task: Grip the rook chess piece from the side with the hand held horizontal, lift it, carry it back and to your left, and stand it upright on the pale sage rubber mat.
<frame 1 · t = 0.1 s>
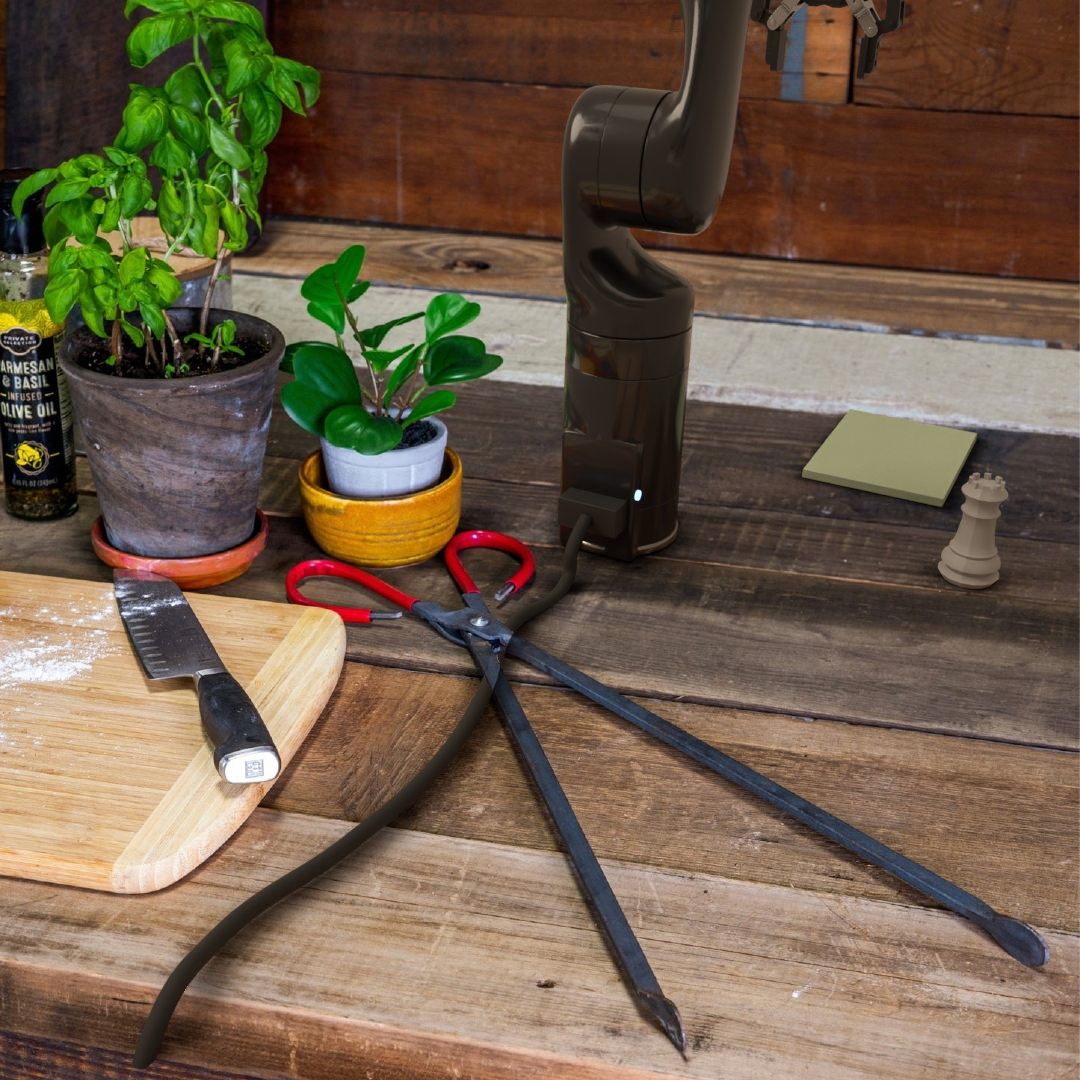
hand: (819, 74, 122), 29 cm above the table, tool pointing down, fingers open, 8 cm apart
rook chess piece: (966, 578, 94), on the table
mat: (891, 458, 113), on the table
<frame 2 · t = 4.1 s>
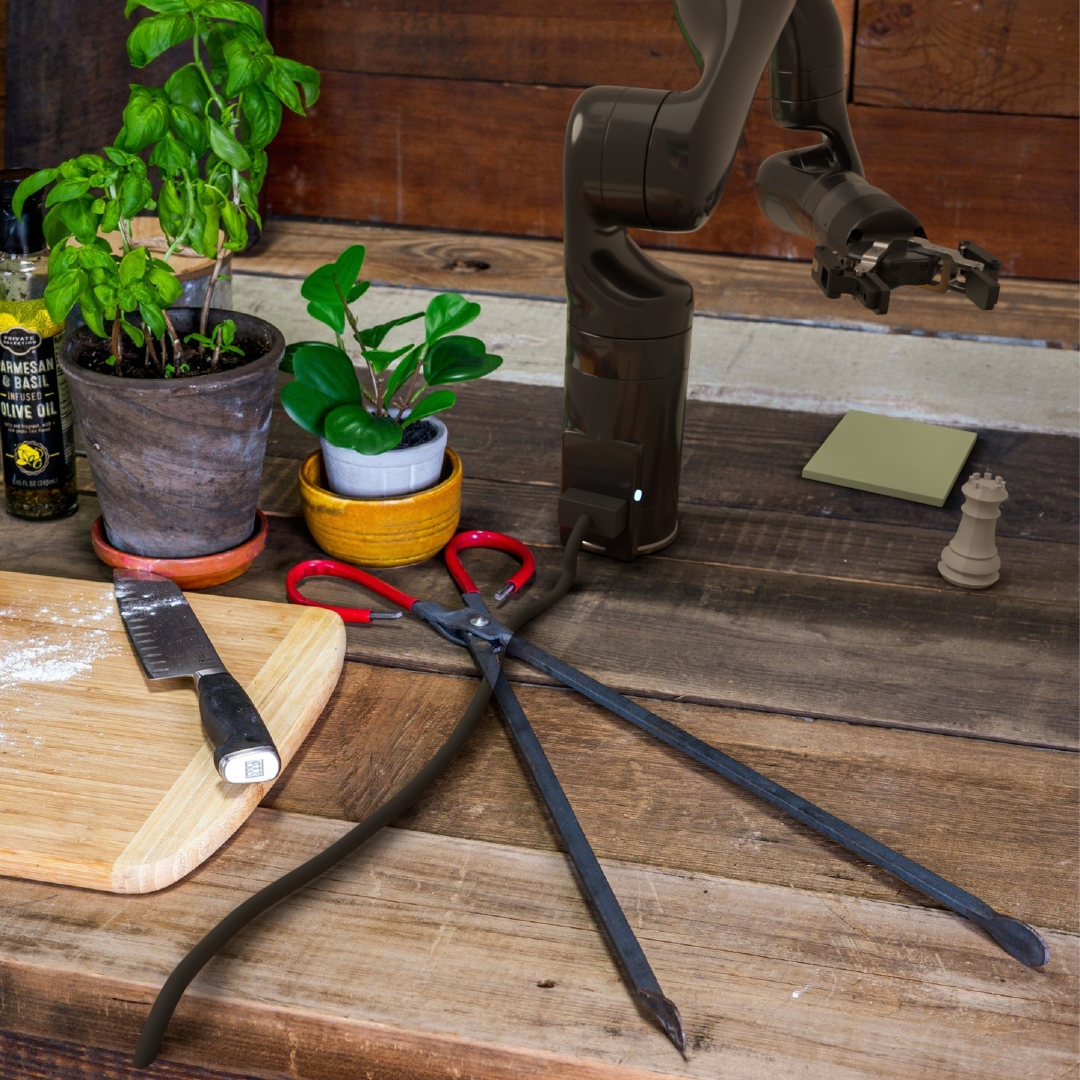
hand: (938, 301, 96), 18 cm above the table, tool horizontal, fingers open, 8 cm apart
nothing on the table moved.
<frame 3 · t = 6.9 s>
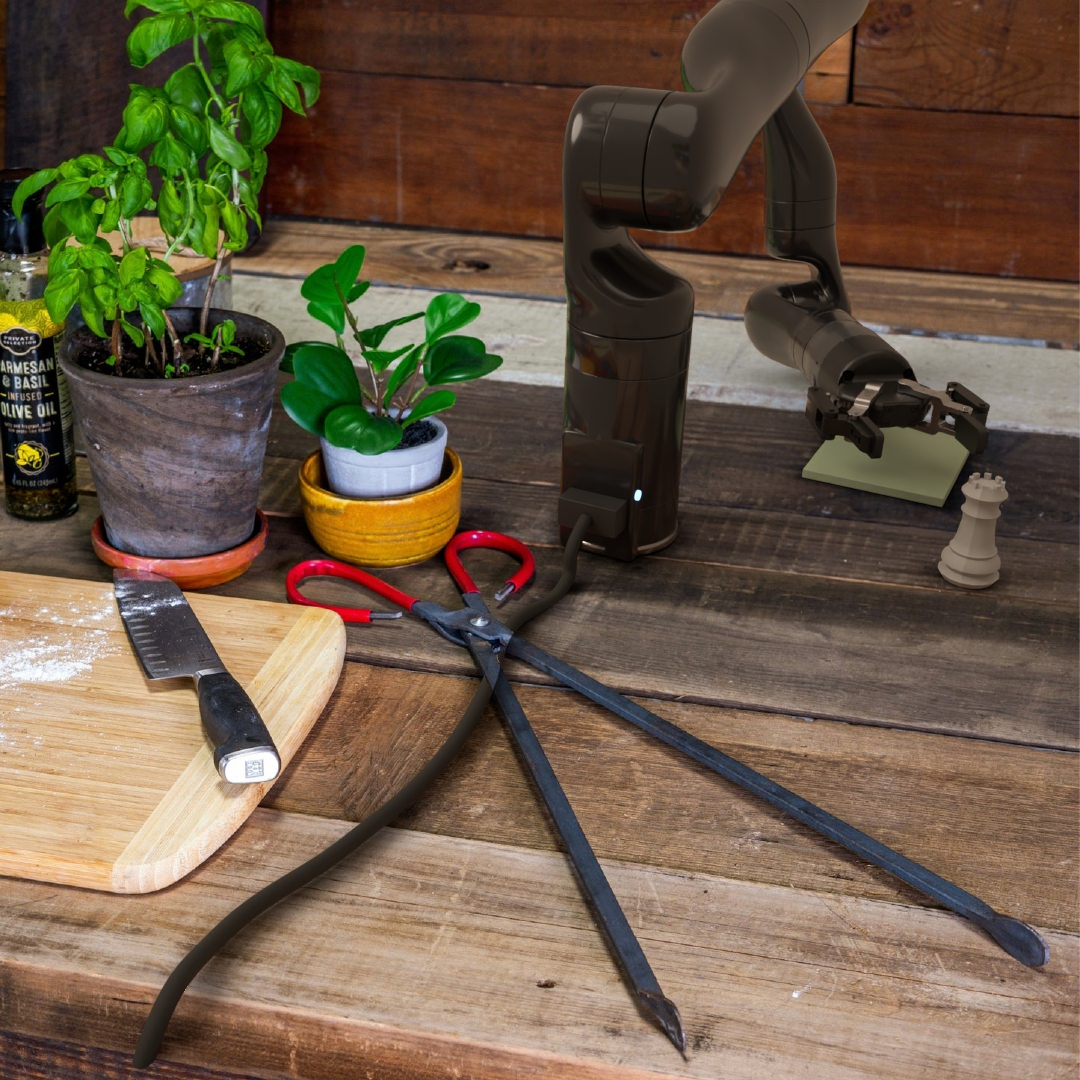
hand: (930, 445, 99), 7 cm above the table, tool horizontal, fingers open, 8 cm apart
nothing on the table moved.
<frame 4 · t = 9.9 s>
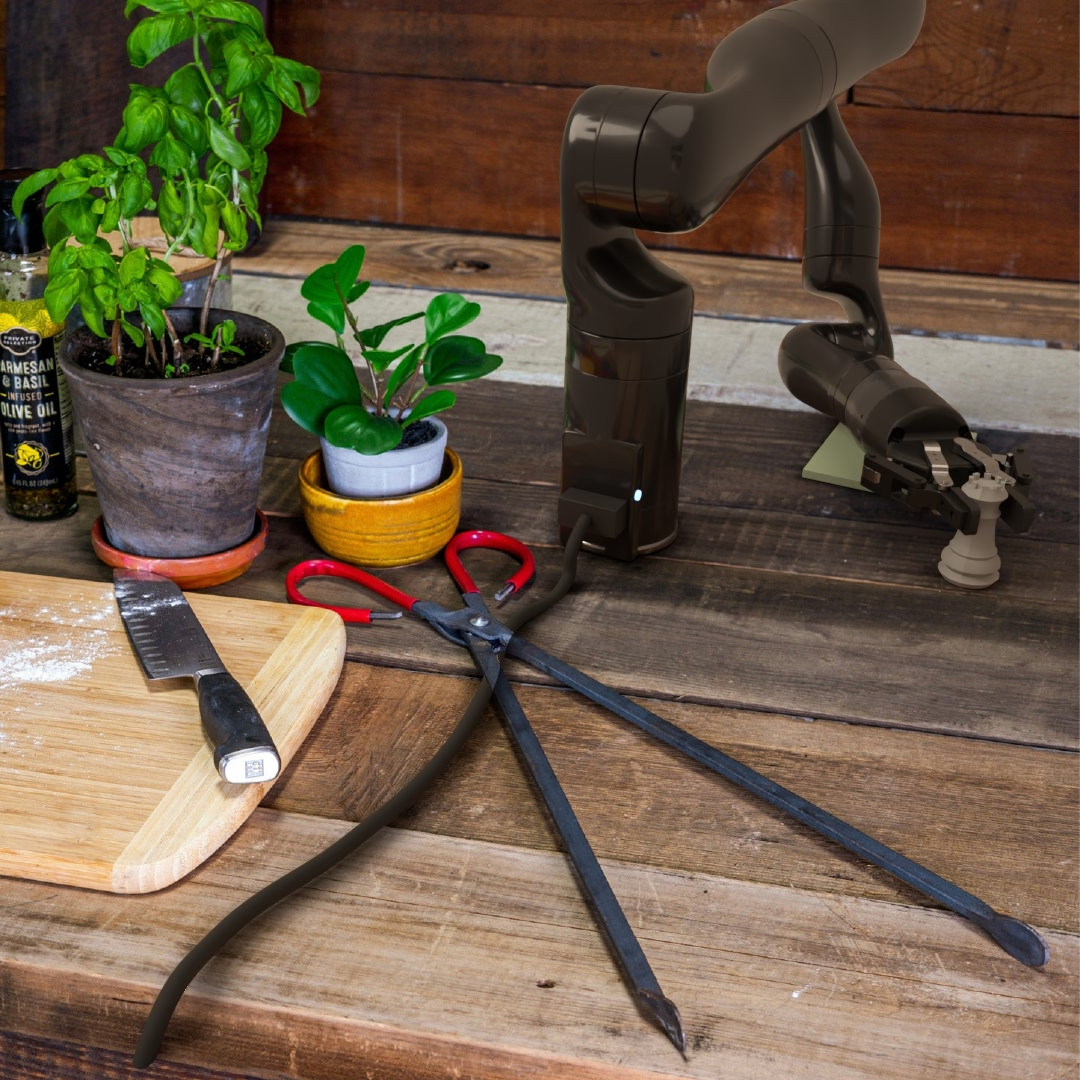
hand: (1000, 522, 89), 6 cm above the table, tool horizontal, fingers closed on rook chess piece, 3 cm apart
rook chess piece: (966, 578, 94), on the table, touching gripper
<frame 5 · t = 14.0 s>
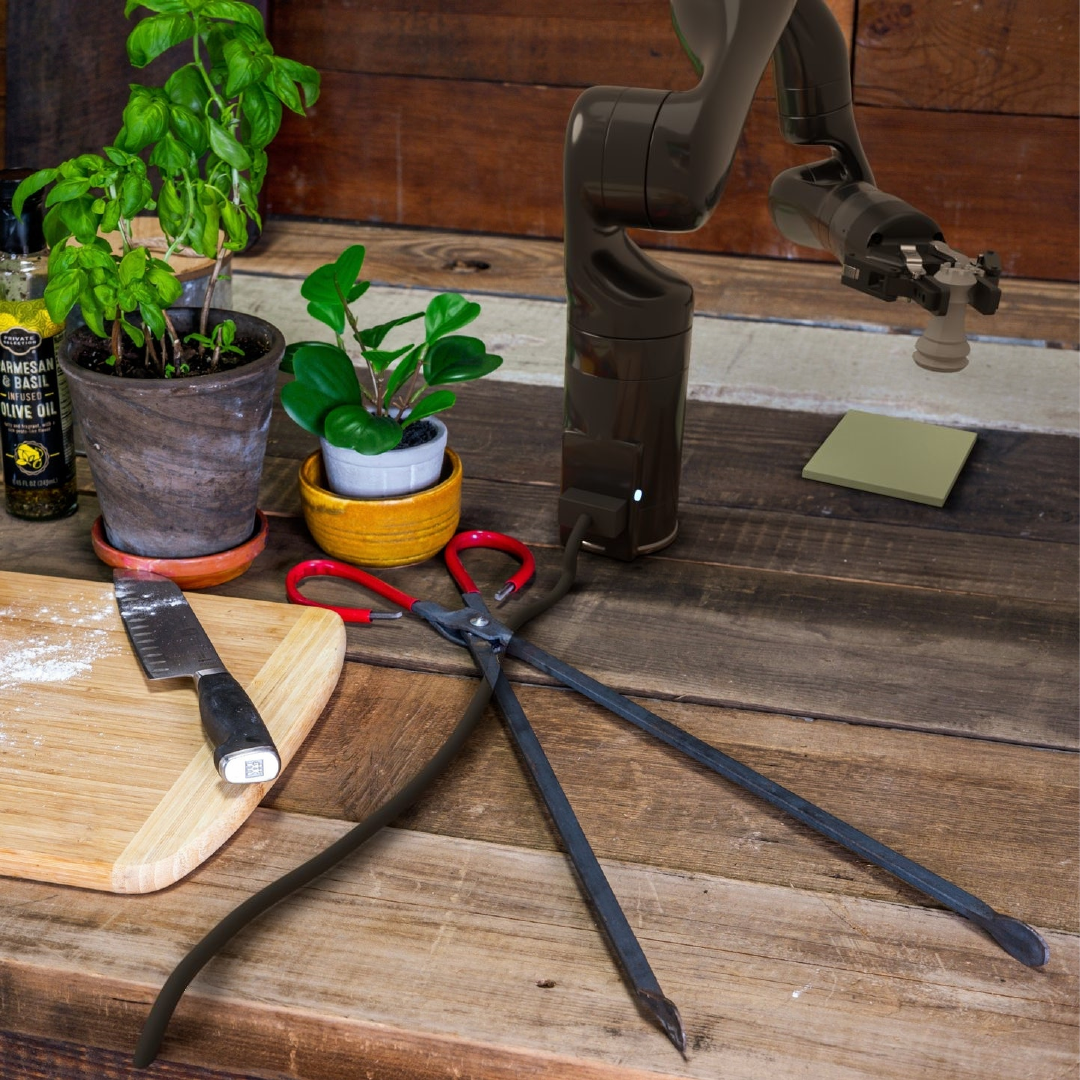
hand: (968, 303, 96), 18 cm above the table, tool horizontal, fingers closed on rook chess piece, 3 cm apart
rook chess piece: (939, 366, 101), point 11 cm above the table, touching gripper
when the fingers open (7 cm above the table, at t = 18.3 s): rook chess piece stays where it is, resting on mat.
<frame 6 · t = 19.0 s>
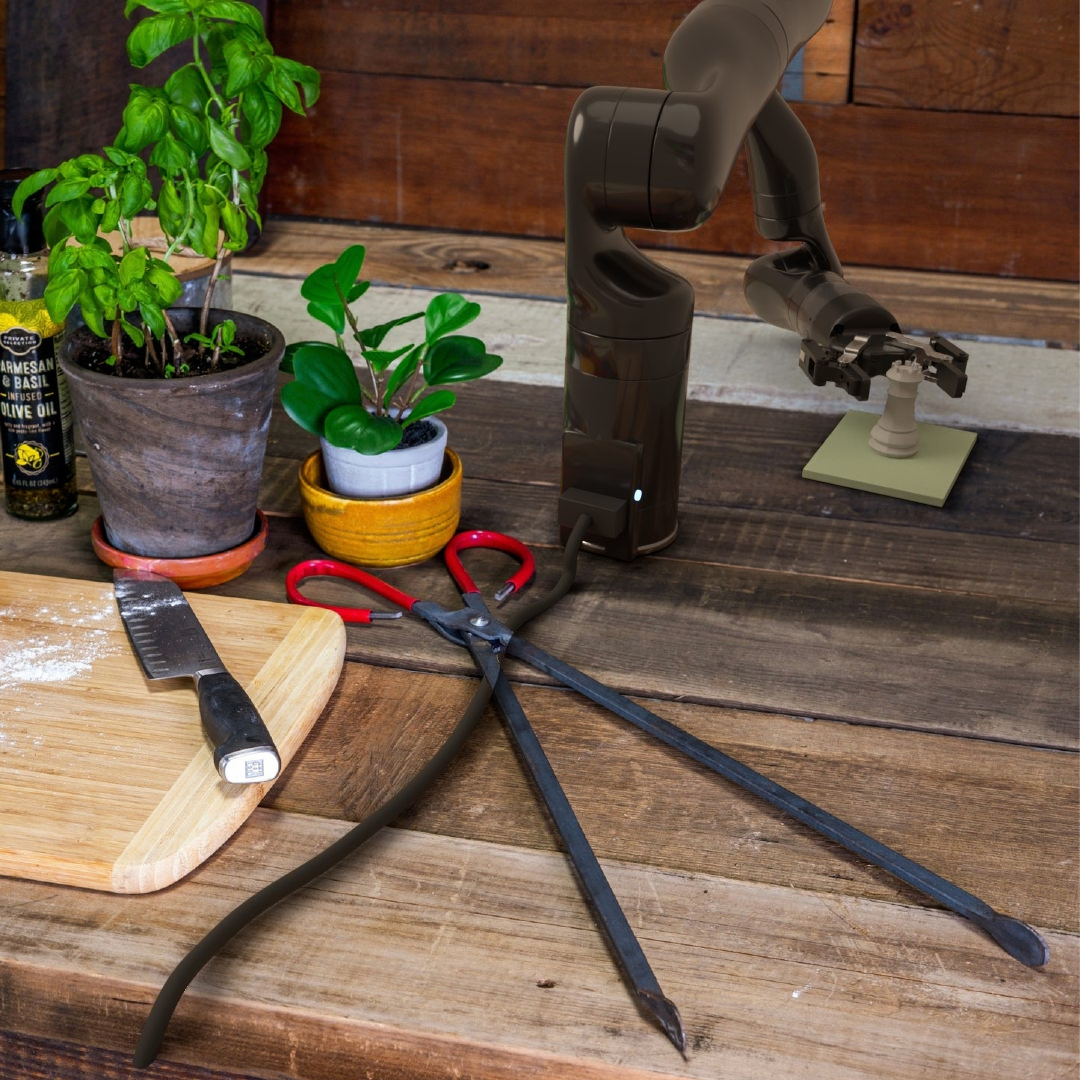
hand: (913, 389, 108), 7 cm above the table, tool horizontal, fingers open, 8 cm apart
rook chess piece: (892, 451, 113), point 1 cm above the table, touching mat
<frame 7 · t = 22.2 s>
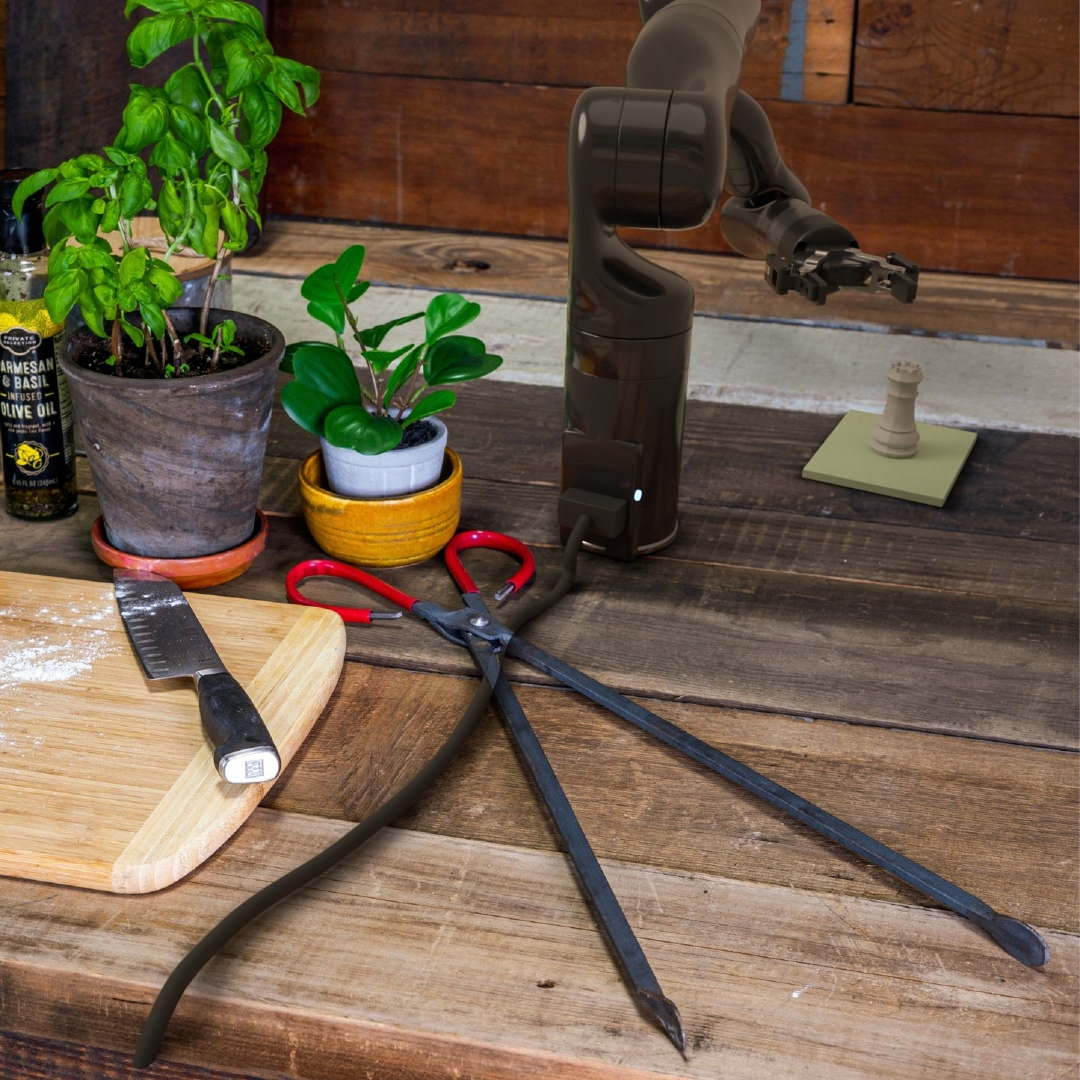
hand: (867, 294, 117), 12 cm above the table, tool horizontal, fingers open, 8 cm apart
nothing on the table moved.
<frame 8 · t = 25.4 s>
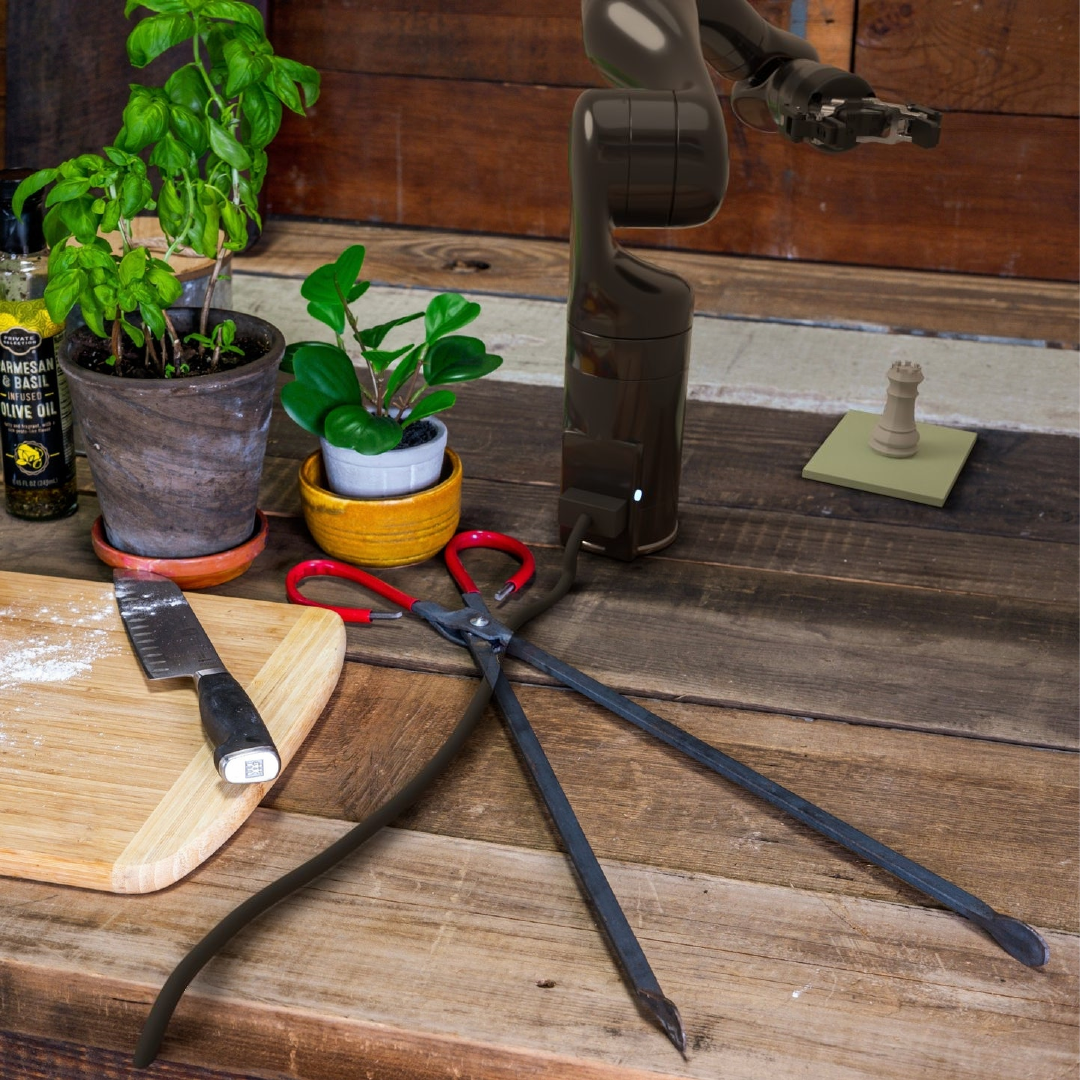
hand: (887, 137, 111), 26 cm above the table, tool horizontal, fingers open, 8 cm apart
nothing on the table moved.
at the end: rook chess piece inside the target area on the mat (0.1 cm from its centre), point 0.6 cm above the mat's base; rook chess piece tilted 0°; the gripper is holding nothing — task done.
